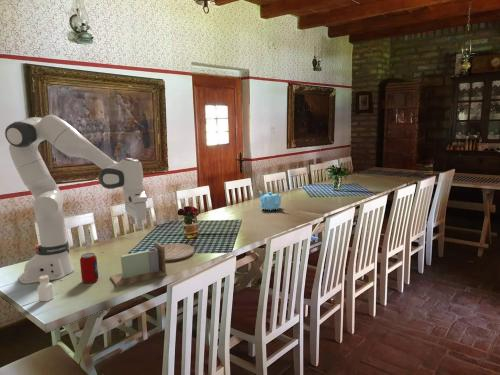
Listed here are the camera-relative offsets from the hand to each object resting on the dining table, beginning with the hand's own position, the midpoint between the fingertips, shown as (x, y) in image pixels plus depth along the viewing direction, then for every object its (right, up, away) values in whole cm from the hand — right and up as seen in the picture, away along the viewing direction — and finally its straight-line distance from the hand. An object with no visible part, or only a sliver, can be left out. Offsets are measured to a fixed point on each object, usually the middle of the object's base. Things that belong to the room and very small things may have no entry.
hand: (136, 226), depth 166 cm
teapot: (+66, -1, +127) cm, 143 cm away
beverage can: (-20, -24, 0) cm, 32 cm away
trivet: (+8, -19, +33) cm, 38 cm away
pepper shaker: (-30, -28, -17) cm, 44 cm away
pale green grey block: (+1, -22, +4) cm, 22 cm away
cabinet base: (0, -23, +4) cm, 23 cm away
